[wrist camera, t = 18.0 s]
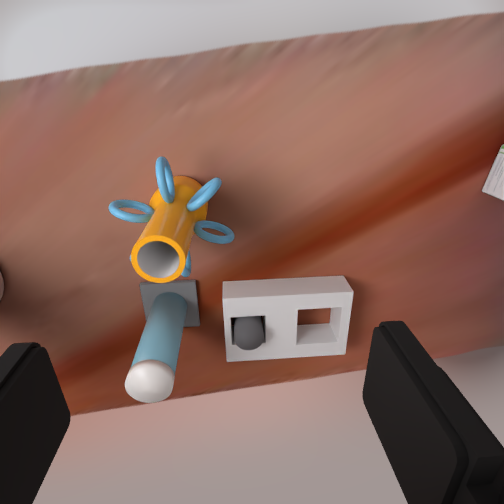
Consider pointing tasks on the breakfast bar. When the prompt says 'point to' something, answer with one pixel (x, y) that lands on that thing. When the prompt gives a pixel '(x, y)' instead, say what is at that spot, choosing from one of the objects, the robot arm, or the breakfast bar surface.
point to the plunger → (248, 332)
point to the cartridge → (158, 350)
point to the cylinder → (171, 224)
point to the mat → (179, 287)
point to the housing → (289, 316)
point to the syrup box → (496, 177)
